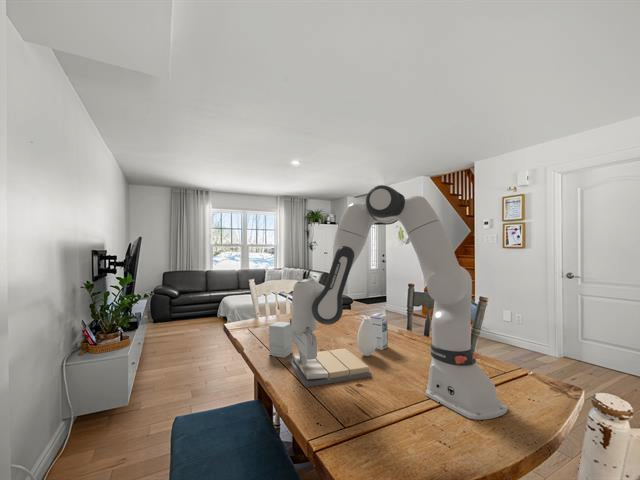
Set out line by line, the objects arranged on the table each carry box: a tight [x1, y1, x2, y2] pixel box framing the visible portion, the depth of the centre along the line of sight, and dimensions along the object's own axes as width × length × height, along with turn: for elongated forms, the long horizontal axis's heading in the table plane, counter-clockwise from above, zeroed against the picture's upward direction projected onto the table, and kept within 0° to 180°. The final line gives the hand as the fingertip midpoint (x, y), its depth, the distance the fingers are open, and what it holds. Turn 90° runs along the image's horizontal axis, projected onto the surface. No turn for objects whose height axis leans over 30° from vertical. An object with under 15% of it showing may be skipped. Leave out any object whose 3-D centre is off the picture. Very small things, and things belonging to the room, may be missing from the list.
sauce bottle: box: [356, 311, 377, 357], centre depth 124 cm, size 8×8×18 cm
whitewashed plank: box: [291, 352, 328, 379], centre depth 108 cm, size 20×7×2 cm, turn 20°
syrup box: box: [369, 312, 389, 351], centre depth 134 cm, size 6×6×14 cm
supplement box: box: [268, 321, 293, 358], centre depth 126 cm, size 7×7×13 cm
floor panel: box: [288, 348, 372, 388], centre depth 110 cm, size 22×24×3 cm
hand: (303, 362), depth 108 cm, fingers closed, pressing on whitewashed plank
